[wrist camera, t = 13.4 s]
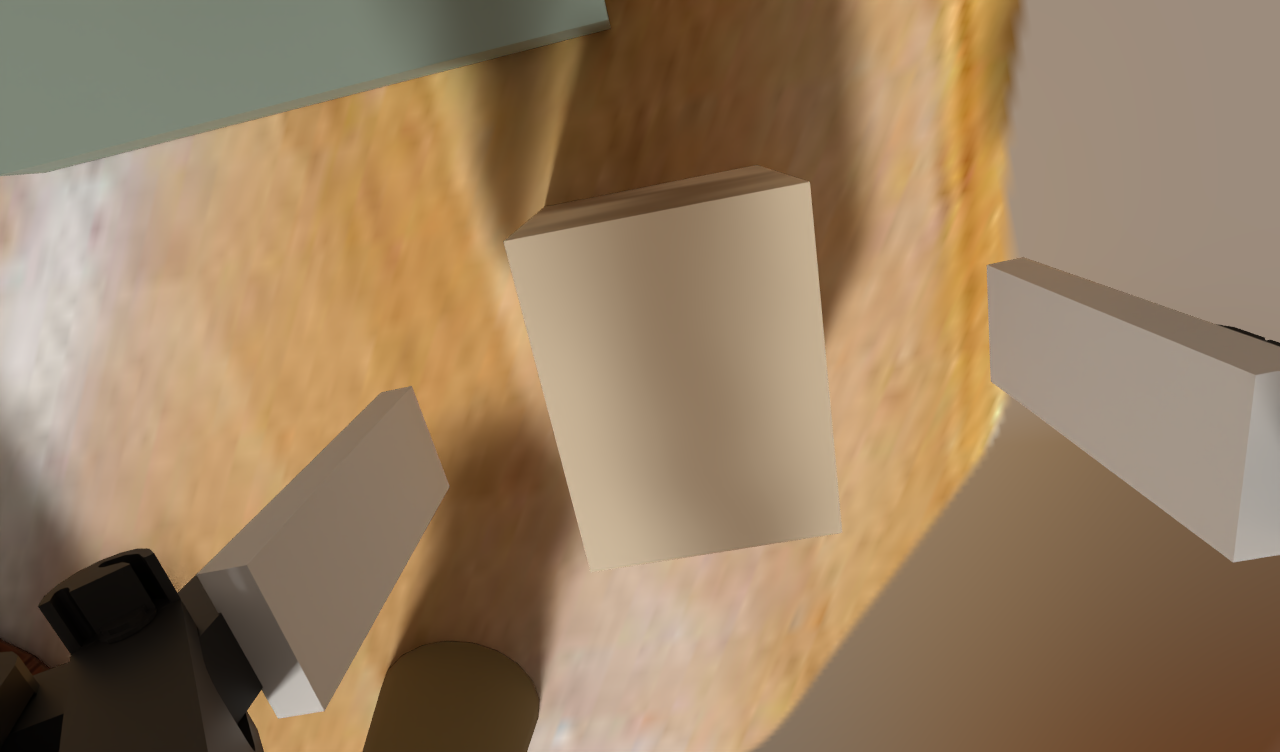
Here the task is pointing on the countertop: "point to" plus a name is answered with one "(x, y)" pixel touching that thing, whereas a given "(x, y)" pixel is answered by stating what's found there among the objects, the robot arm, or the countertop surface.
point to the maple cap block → (684, 364)
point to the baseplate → (231, 62)
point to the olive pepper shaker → (454, 702)
